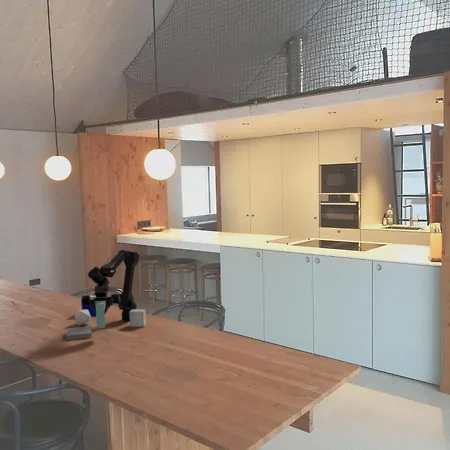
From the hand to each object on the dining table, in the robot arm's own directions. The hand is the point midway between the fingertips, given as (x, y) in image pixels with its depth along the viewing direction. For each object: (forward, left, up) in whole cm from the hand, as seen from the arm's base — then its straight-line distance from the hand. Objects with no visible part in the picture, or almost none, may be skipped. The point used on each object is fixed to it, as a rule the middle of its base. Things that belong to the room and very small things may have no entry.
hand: (100, 314), depth 246 cm
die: (+9, -31, -13) cm, 35 cm away
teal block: (0, -1, -7) cm, 7 cm away
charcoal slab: (+11, -11, -14) cm, 21 cm away
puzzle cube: (+3, -52, -14) cm, 54 cm away
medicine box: (-20, -17, -14) cm, 30 cm away
